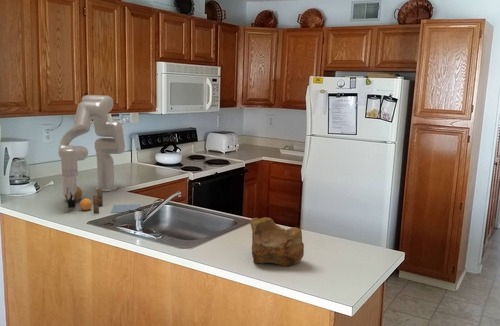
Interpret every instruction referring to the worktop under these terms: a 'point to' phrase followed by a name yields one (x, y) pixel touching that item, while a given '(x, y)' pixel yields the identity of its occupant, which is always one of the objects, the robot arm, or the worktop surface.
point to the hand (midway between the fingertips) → (71, 207)
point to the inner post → (100, 197)
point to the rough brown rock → (275, 243)
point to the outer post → (95, 204)
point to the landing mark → (124, 208)
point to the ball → (85, 204)
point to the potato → (76, 194)
